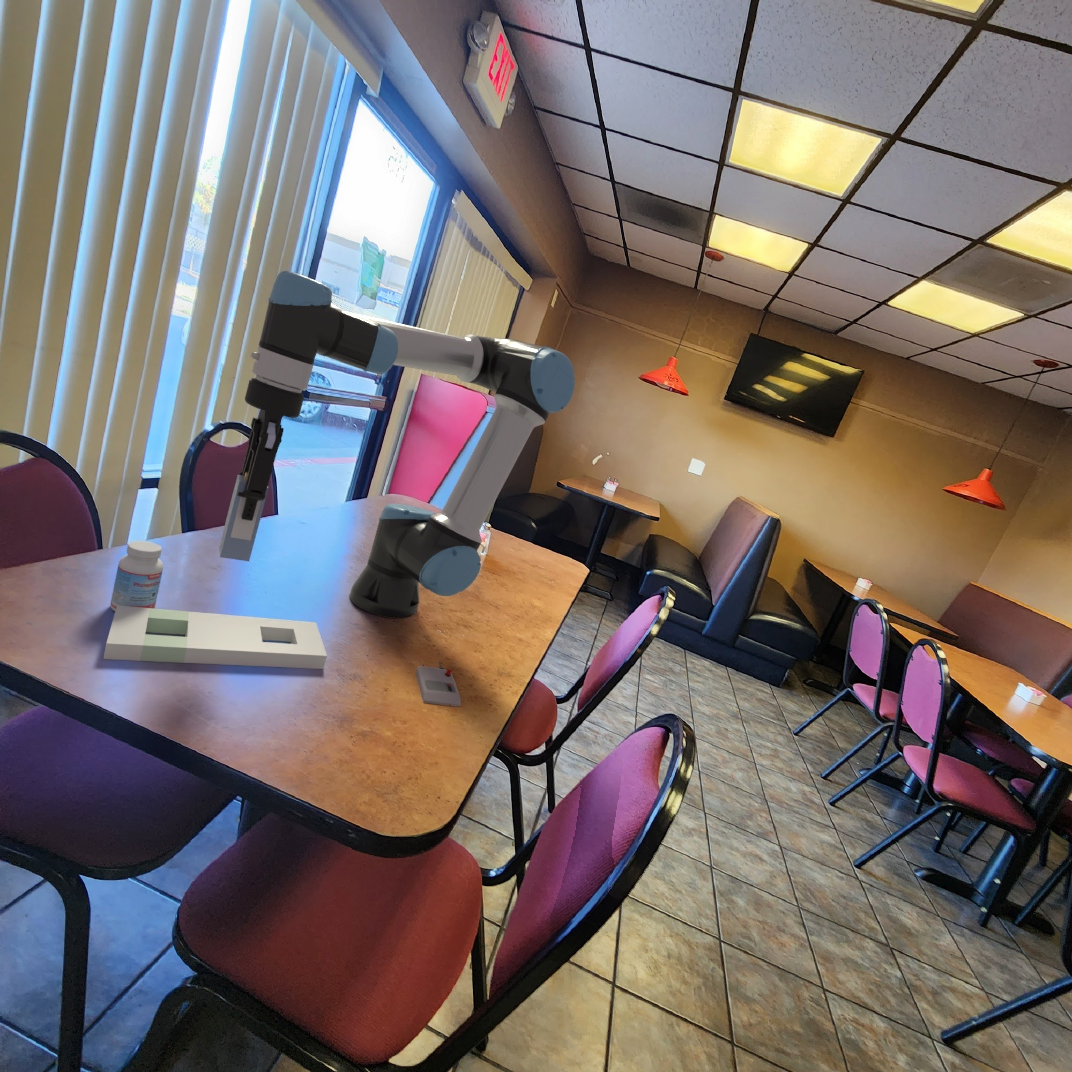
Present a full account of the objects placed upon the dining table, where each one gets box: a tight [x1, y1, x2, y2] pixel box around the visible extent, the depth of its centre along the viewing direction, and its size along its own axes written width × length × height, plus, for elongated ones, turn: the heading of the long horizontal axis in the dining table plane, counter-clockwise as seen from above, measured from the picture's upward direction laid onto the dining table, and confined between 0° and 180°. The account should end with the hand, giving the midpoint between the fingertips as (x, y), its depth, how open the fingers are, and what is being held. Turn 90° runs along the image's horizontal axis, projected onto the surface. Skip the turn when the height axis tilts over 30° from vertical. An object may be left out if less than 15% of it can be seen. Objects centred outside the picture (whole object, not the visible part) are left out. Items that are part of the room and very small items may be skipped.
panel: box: [103, 605, 328, 670], centre depth 94 cm, size 30×12×2 cm, turn 119°
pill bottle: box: [109, 540, 164, 612], centre depth 94 cm, size 6×6×11 cm
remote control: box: [415, 661, 462, 707], centre depth 104 cm, size 7×16×3 cm, turn 19°
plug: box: [218, 472, 269, 562], centre depth 89 cm, size 4×4×13 cm
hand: (239, 532), depth 89 cm, fingers closed on plug, 4 cm apart
